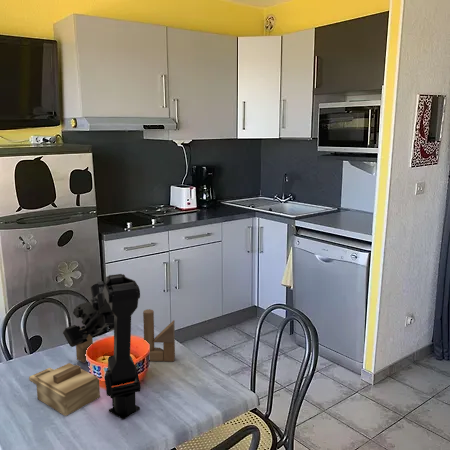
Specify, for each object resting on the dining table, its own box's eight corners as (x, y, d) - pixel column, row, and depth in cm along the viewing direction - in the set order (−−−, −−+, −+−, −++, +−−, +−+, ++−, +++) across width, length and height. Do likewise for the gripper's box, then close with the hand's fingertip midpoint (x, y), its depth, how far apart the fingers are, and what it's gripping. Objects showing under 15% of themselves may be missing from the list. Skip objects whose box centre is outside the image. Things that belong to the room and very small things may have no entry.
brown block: (93, 358, 162) (91, 328, 160) (83, 362, 159) (82, 332, 157) (86, 355, 164) (84, 325, 162) (76, 359, 161) (74, 329, 159)
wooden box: (100, 397, 140) (99, 379, 139) (65, 416, 131) (64, 397, 130) (50, 370, 155) (49, 353, 154) (16, 385, 146) (15, 368, 145)
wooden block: (173, 362, 162) (173, 313, 158) (143, 361, 162) (141, 312, 159) (175, 356, 166) (174, 309, 162) (144, 356, 166) (143, 308, 162)
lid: (97, 379, 139) (97, 371, 138) (65, 396, 130) (65, 386, 129) (69, 365, 147) (69, 357, 146) (37, 379, 138) (36, 371, 138)
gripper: (111, 290, 162) (92, 312, 171) (64, 305, 147) (47, 329, 156) (127, 317, 159) (107, 338, 168) (81, 335, 144) (62, 357, 153)
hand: (81, 340), depth 161 cm, fingers closed on brown block, 4 cm apart
